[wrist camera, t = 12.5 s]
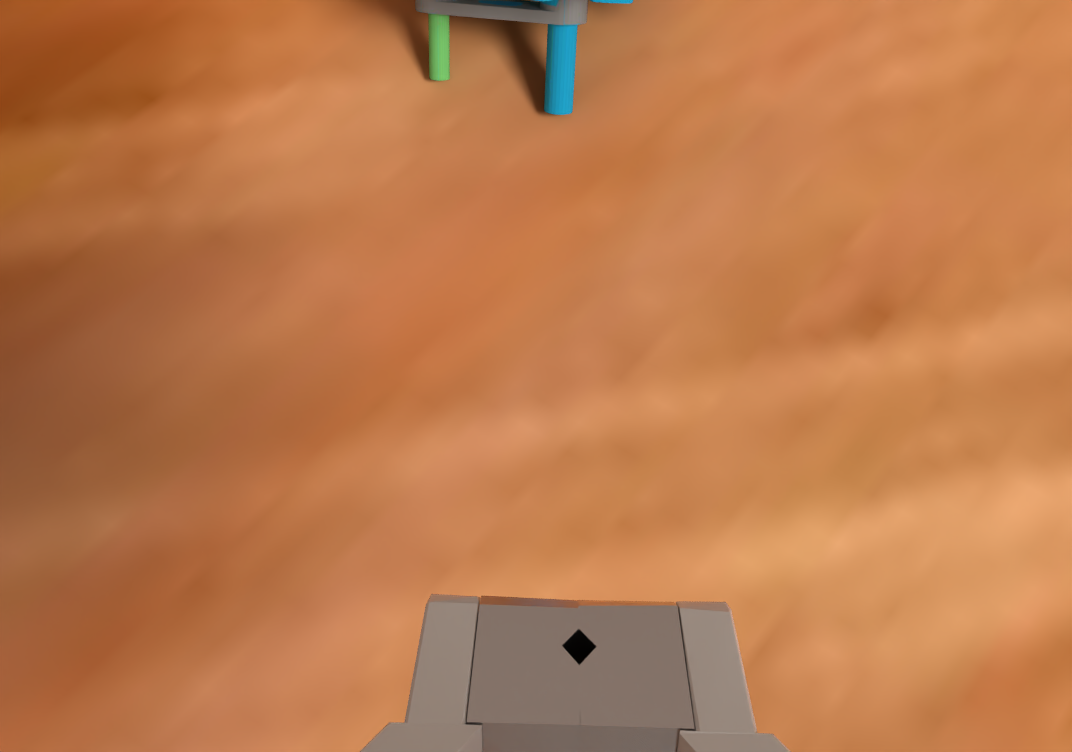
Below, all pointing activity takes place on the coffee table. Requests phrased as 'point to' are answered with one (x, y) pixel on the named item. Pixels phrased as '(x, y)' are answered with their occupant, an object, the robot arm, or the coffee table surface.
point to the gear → (556, 8)
